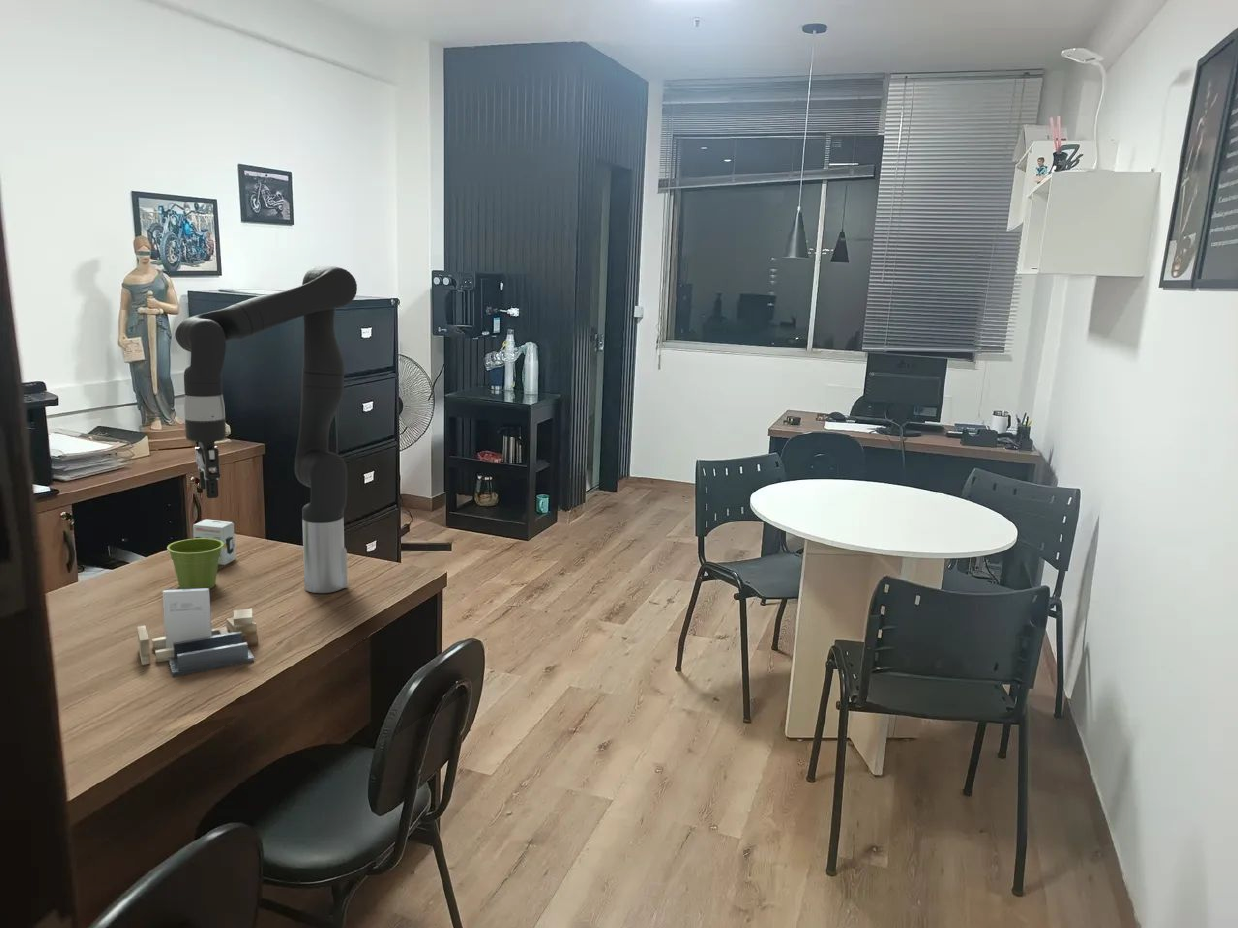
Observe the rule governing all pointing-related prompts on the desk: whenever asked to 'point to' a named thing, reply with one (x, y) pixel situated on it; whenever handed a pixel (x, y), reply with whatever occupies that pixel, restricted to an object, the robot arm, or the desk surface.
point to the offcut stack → (243, 626)
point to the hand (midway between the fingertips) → (209, 493)
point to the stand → (209, 653)
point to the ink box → (218, 537)
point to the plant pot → (196, 562)
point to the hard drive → (186, 614)
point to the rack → (161, 645)
